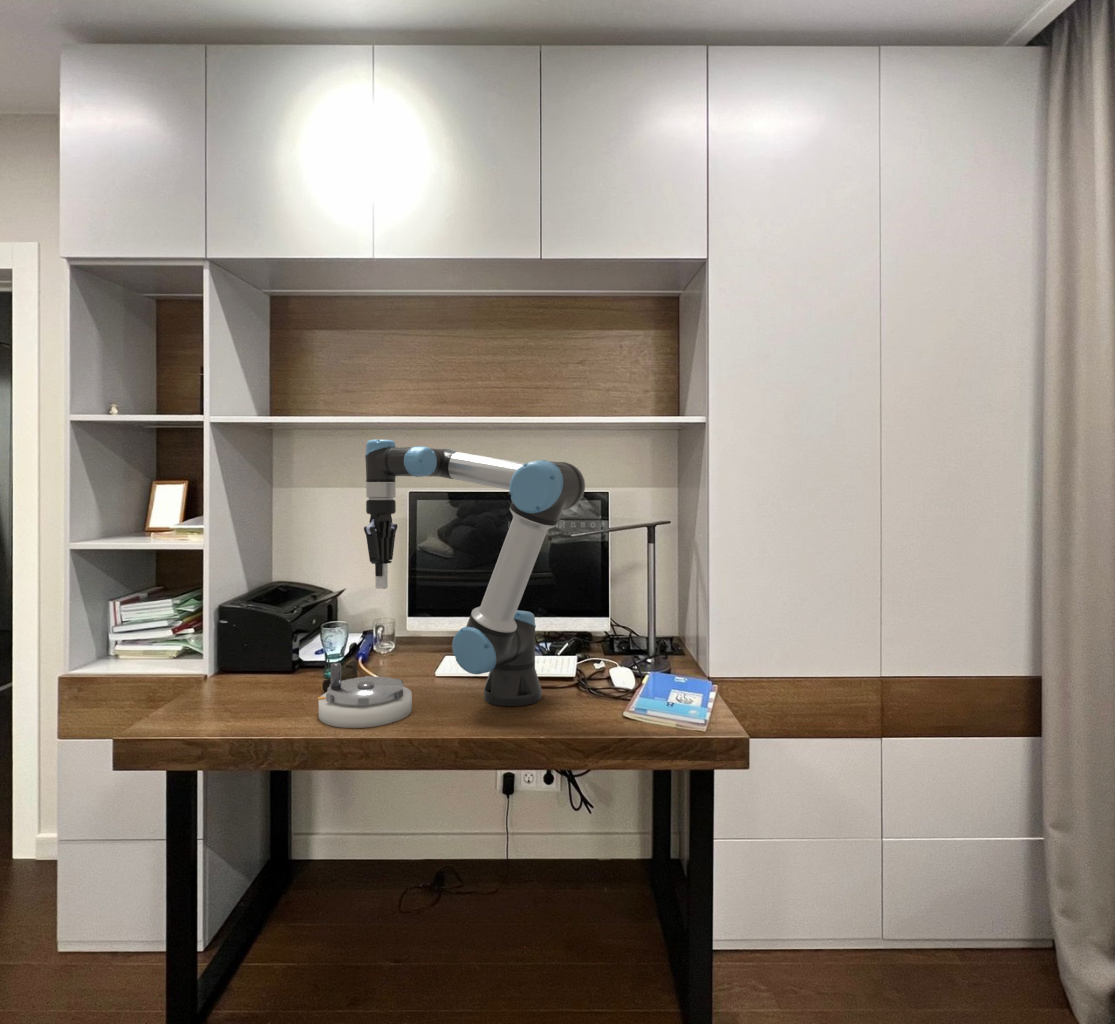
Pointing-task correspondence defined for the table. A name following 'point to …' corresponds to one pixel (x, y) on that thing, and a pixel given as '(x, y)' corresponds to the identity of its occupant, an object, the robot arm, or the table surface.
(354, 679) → the grey disc with handle
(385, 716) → the housing
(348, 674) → the hand tool
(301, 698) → the table surface
